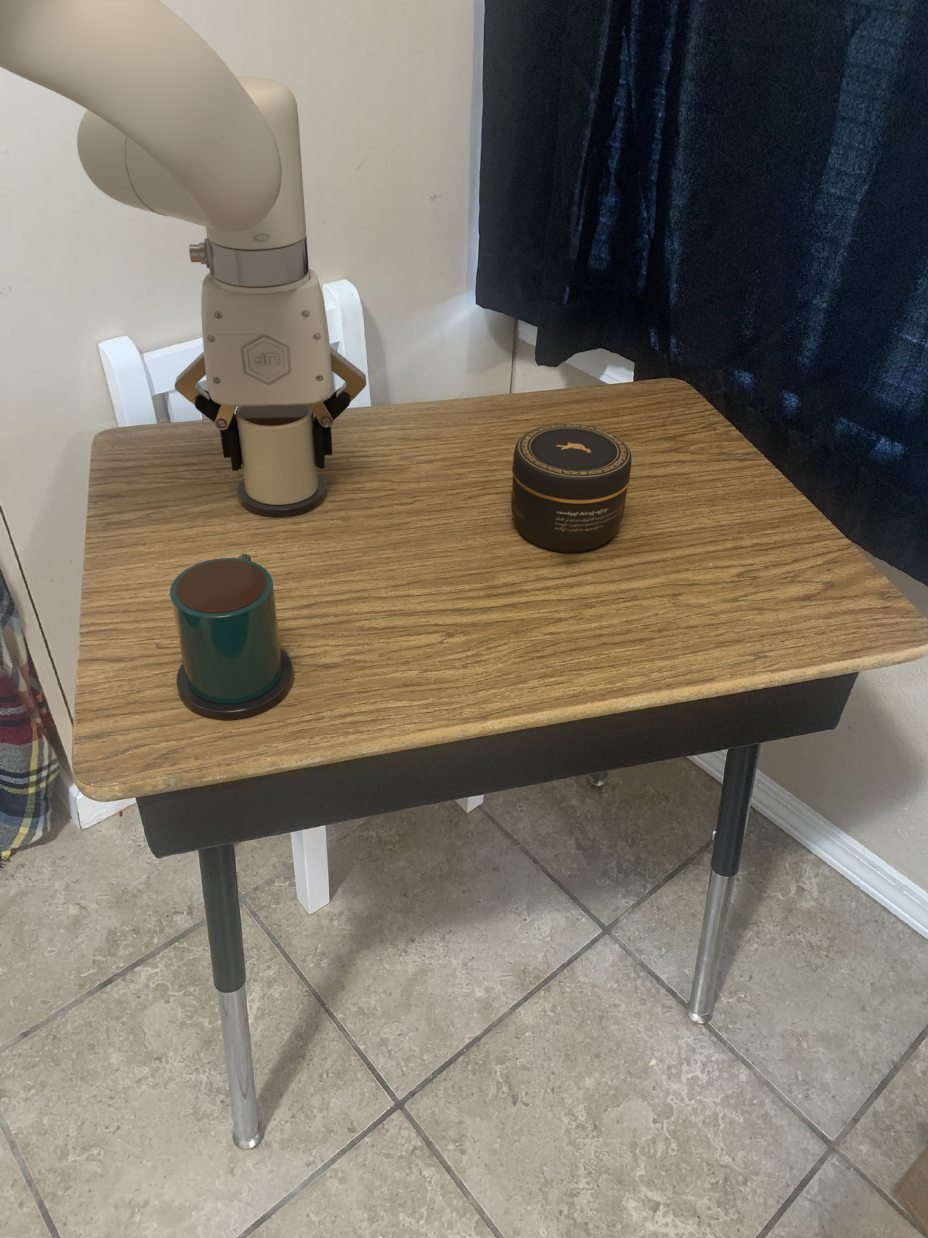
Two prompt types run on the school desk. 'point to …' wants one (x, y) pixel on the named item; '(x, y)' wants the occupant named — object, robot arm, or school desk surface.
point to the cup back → (278, 453)
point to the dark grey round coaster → (283, 509)
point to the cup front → (227, 629)
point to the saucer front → (237, 709)
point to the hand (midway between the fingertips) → (279, 460)
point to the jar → (569, 486)
